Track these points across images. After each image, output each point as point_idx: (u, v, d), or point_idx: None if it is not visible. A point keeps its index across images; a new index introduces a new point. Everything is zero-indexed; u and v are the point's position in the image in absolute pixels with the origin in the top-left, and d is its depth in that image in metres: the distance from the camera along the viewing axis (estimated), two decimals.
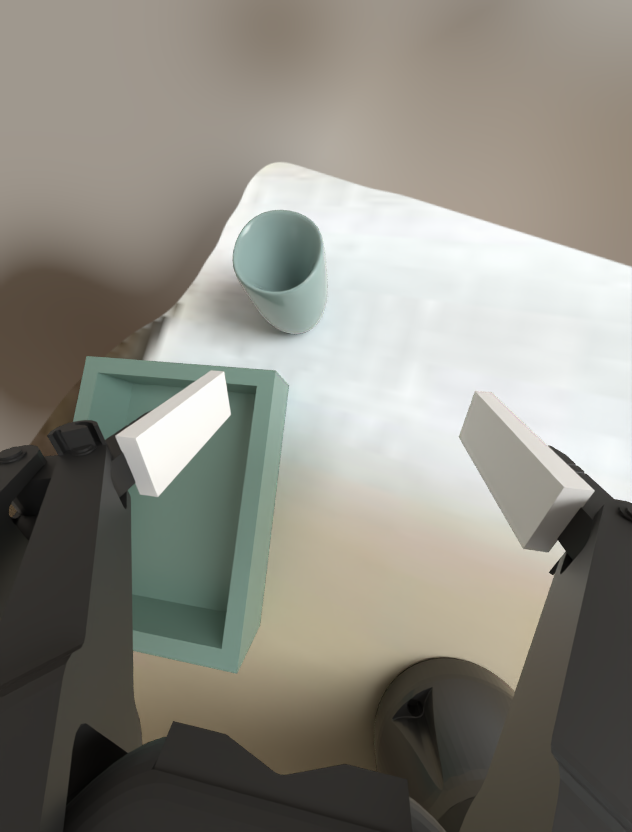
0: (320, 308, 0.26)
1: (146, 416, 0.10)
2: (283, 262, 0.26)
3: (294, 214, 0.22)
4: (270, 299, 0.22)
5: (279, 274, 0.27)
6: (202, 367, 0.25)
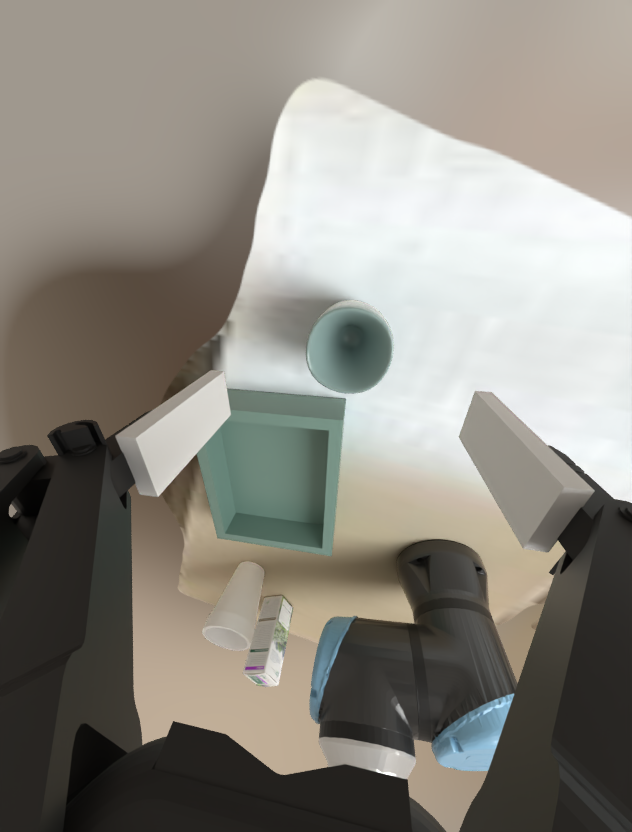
0: None
1: (146, 416, 0.10)
2: (346, 323, 0.26)
3: (365, 313, 0.21)
4: None
5: (339, 328, 0.27)
6: (283, 416, 0.32)
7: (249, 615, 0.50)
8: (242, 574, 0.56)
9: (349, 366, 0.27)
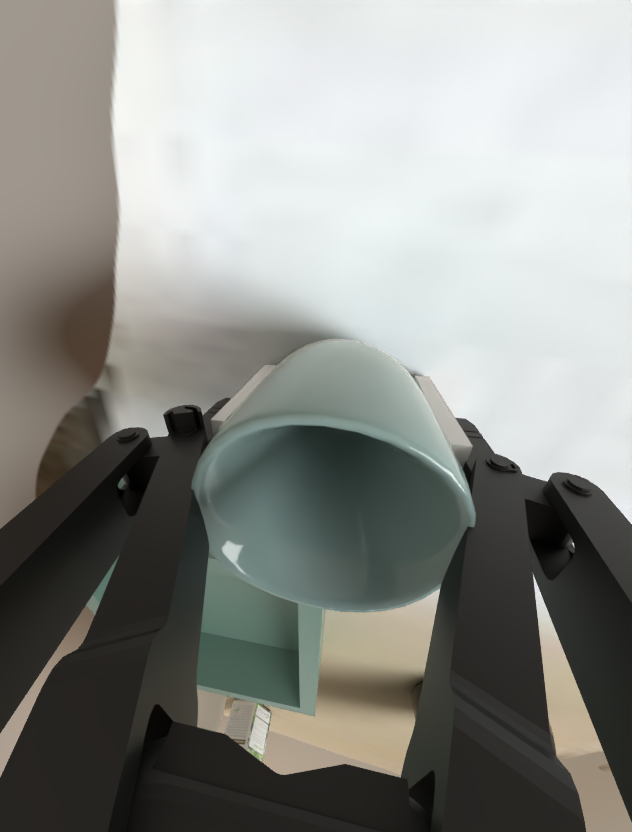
0: None
1: (228, 403, 0.11)
2: None
3: (378, 437, 0.05)
4: None
5: None
6: None
7: None
8: None
9: (331, 503, 0.11)
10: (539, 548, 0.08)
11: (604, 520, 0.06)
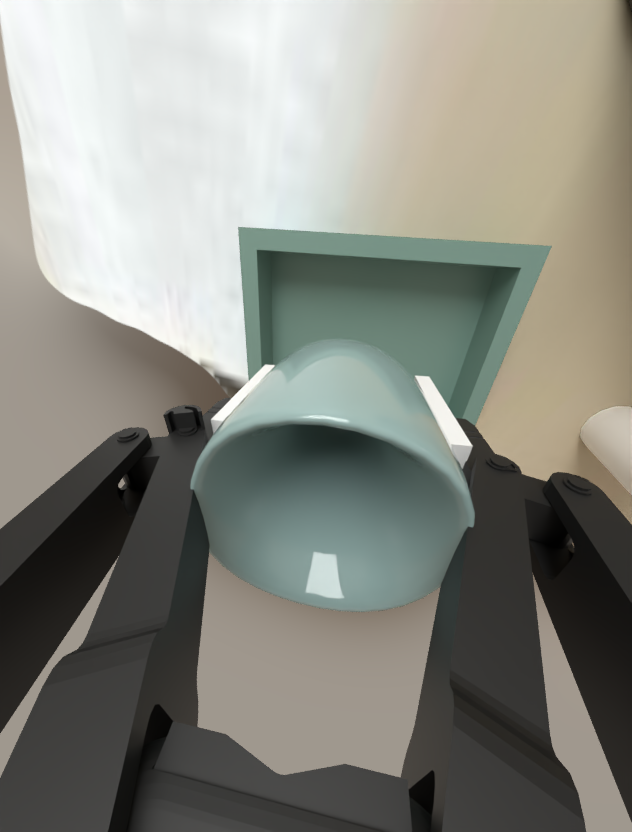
0: None
1: (228, 403, 0.11)
2: None
3: (377, 436, 0.05)
4: None
5: None
6: (246, 313, 0.27)
7: None
8: (597, 441, 0.31)
9: (331, 503, 0.11)
10: (538, 548, 0.08)
11: (604, 520, 0.06)
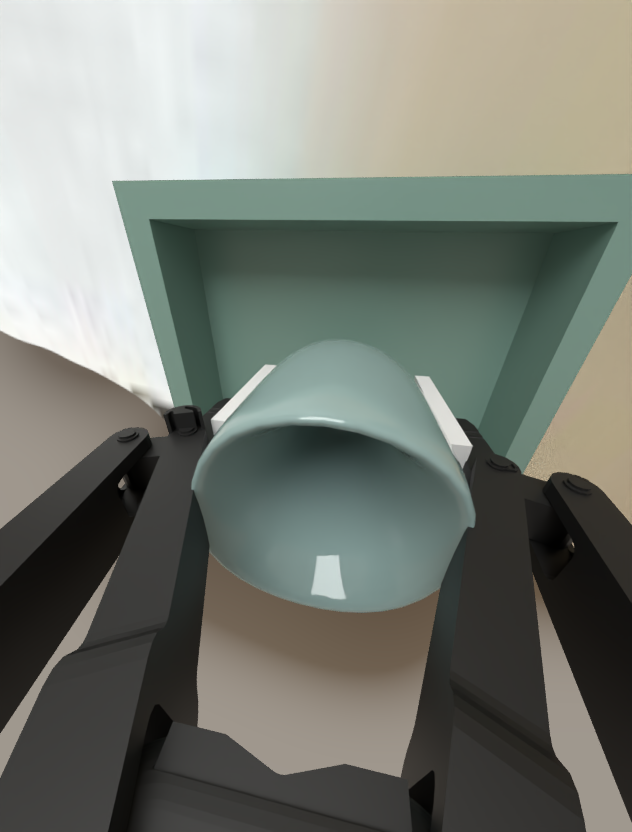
0: None
1: (228, 403, 0.11)
2: None
3: (378, 437, 0.05)
4: None
5: None
6: (155, 325, 0.17)
7: None
8: None
9: (331, 504, 0.11)
10: (539, 548, 0.08)
11: (604, 520, 0.06)
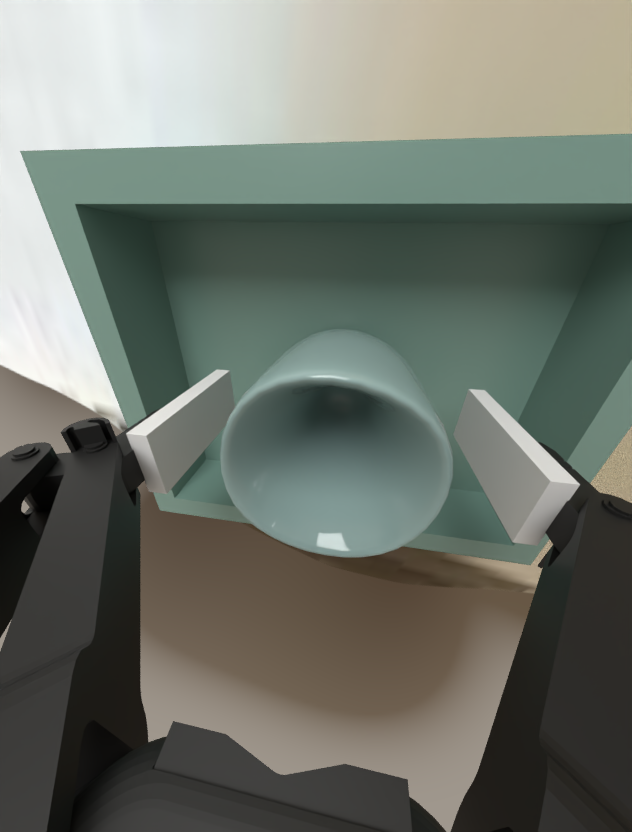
0: None
1: (155, 414, 0.10)
2: None
3: (374, 391, 0.07)
4: None
5: (316, 390, 0.12)
6: (98, 341, 0.14)
7: None
8: None
9: (335, 471, 0.13)
10: None
11: None
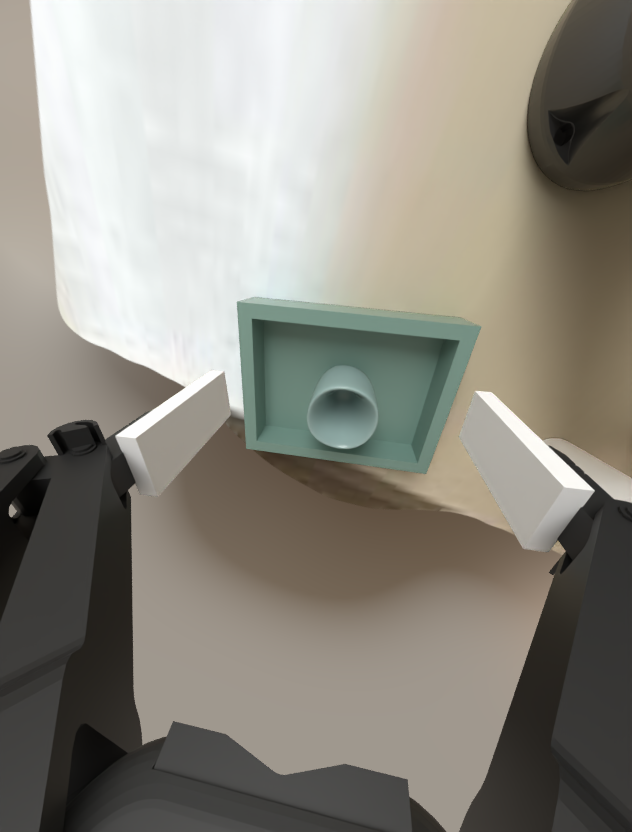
0: None
1: (146, 416, 0.10)
2: None
3: (356, 392, 0.26)
4: None
5: (334, 390, 0.32)
6: (242, 365, 0.32)
7: (595, 479, 0.30)
8: None
9: (341, 422, 0.32)
10: None
11: None
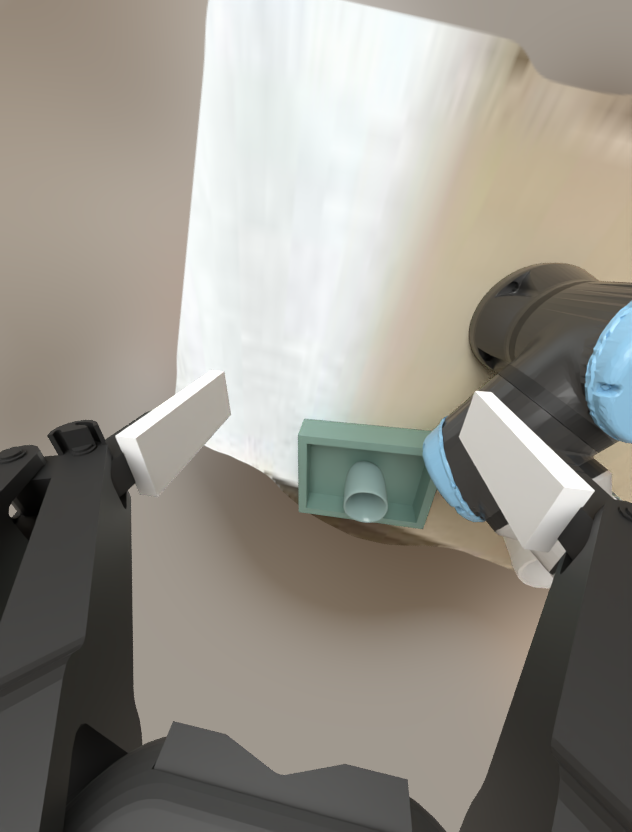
0: None
1: (145, 416, 0.10)
2: None
3: (374, 494, 0.44)
4: None
5: None
6: (299, 466, 0.51)
7: None
8: None
9: (364, 502, 0.50)
10: None
11: None
